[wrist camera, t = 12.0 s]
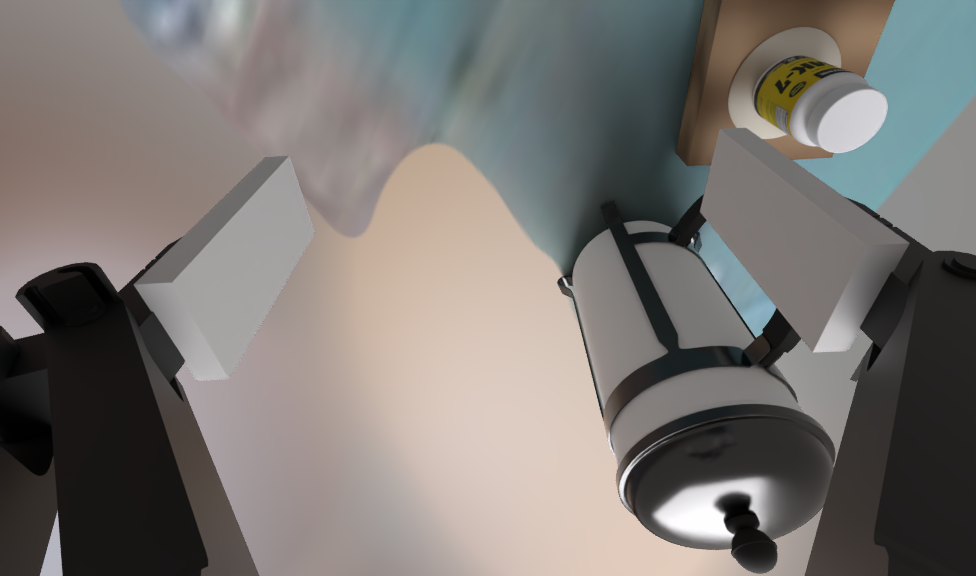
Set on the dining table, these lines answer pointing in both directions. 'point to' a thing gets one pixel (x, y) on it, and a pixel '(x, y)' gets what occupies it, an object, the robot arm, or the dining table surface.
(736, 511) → the coffee press
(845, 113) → the supplement bottle
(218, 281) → the robot arm
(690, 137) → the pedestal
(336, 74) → the dining table surface
